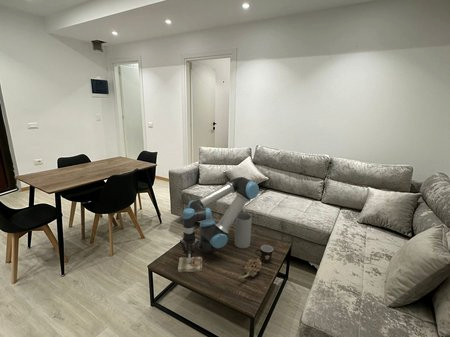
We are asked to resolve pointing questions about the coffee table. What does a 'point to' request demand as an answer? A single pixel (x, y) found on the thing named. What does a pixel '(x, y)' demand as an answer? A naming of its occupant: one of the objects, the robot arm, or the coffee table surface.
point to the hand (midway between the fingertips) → (189, 261)
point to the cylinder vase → (243, 230)
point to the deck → (189, 264)
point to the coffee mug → (265, 253)
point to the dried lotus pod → (252, 268)
